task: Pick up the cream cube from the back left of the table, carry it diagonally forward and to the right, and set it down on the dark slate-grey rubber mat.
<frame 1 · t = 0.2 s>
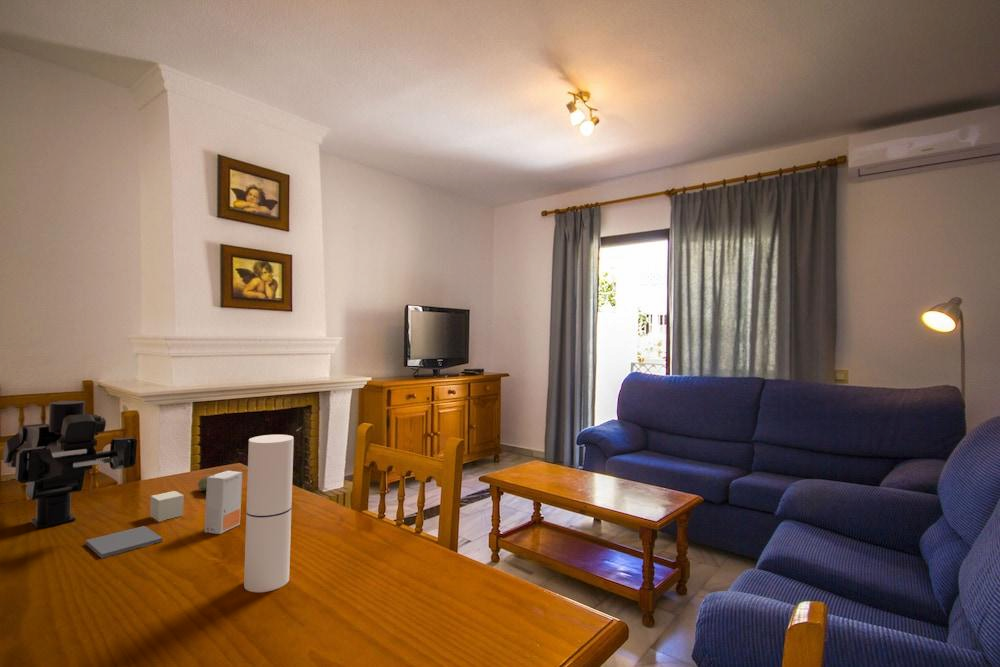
hand: (93, 466, 95), 17 cm above the table, tool horizontal, fingers open, 9 cm apart
pear: (213, 492, 133), on the table
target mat: (124, 542, 100), on the table
skincare box: (223, 529, 108), on the table
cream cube: (166, 517, 115), on the table
cylindrical container: (267, 582, 86), on the table
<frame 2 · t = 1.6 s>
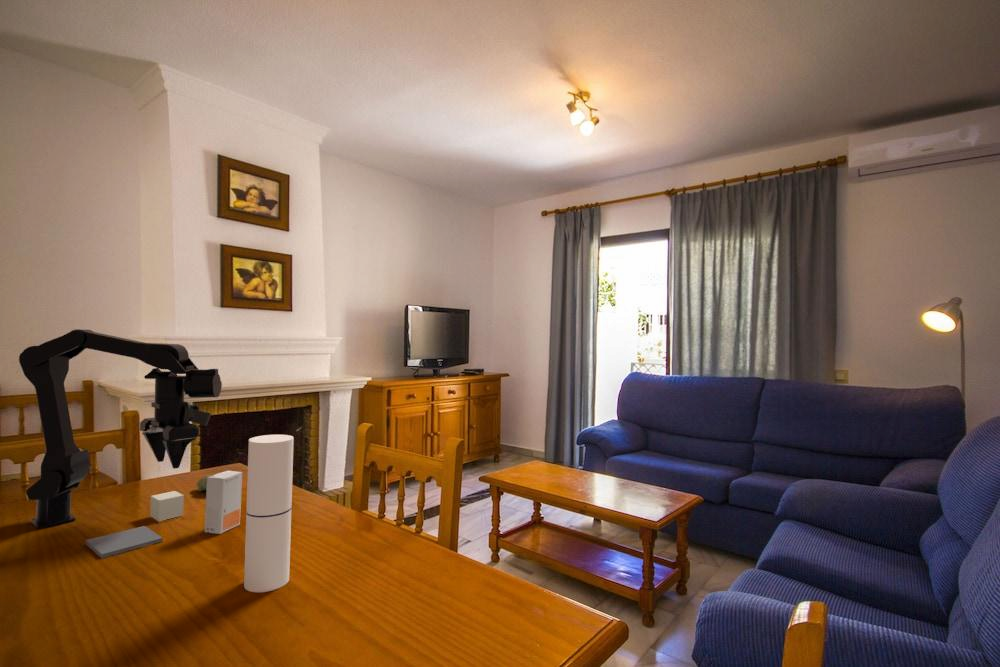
hand: (168, 464, 115), 12 cm above the table, tool pointing down, fingers open, 9 cm apart
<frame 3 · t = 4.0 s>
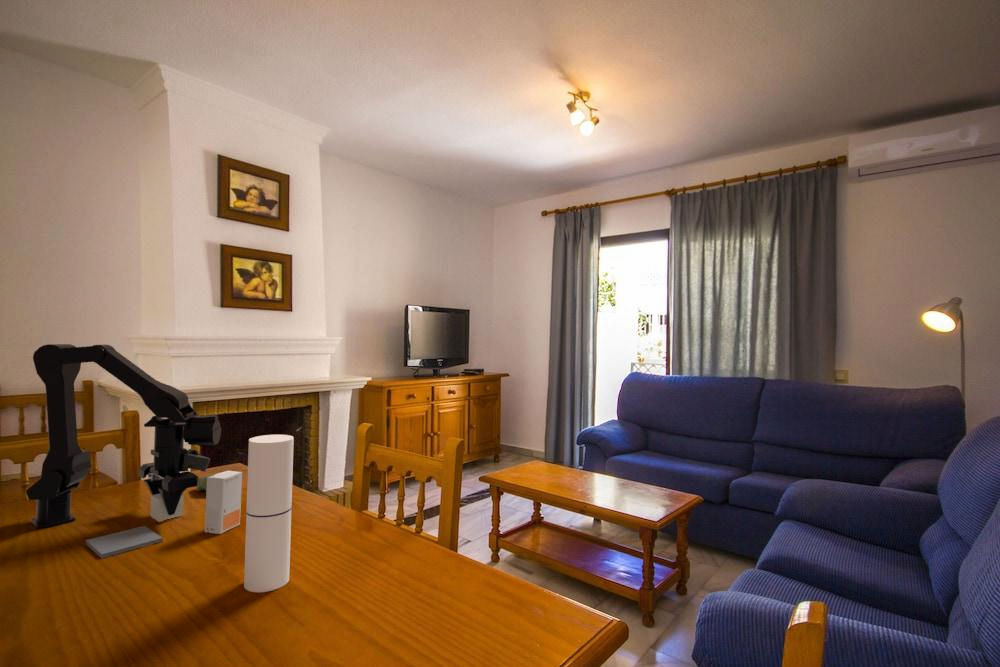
hand: (166, 512, 115), 1 cm above the table, tool pointing down, fingers closed on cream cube, 5 cm apart
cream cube: (166, 516, 115), on the table, touching gripper
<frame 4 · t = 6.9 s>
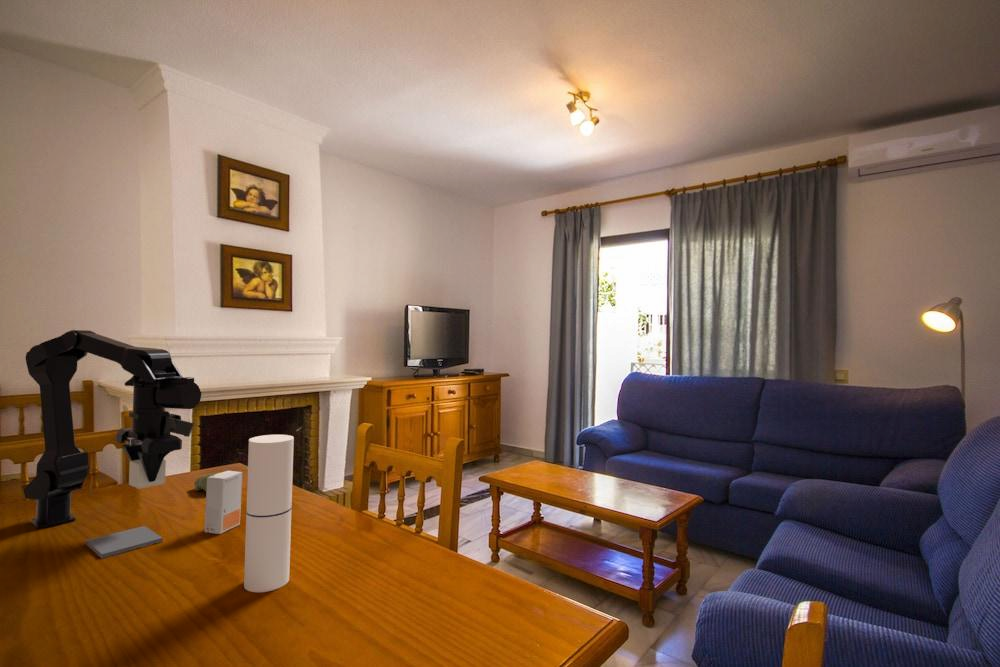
hand: (146, 479, 106), 11 cm above the table, tool pointing down, fingers closed on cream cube, 5 cm apart
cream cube: (147, 483, 107), point 10 cm above the table, touching gripper
when the fingers open (3 cm above the table, at t = 10.1 s): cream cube drops 1 cm, resting on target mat.
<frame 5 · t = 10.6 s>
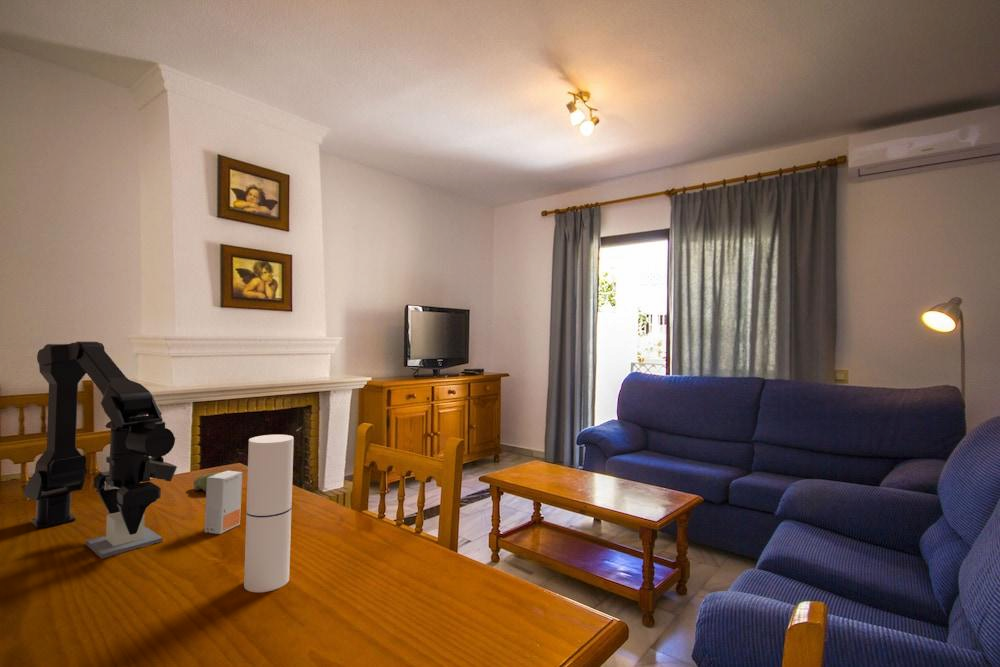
hand: (124, 528, 100), 3 cm above the table, tool pointing down, fingers open, 9 cm apart
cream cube: (124, 538, 100), point 1 cm above the table, touching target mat
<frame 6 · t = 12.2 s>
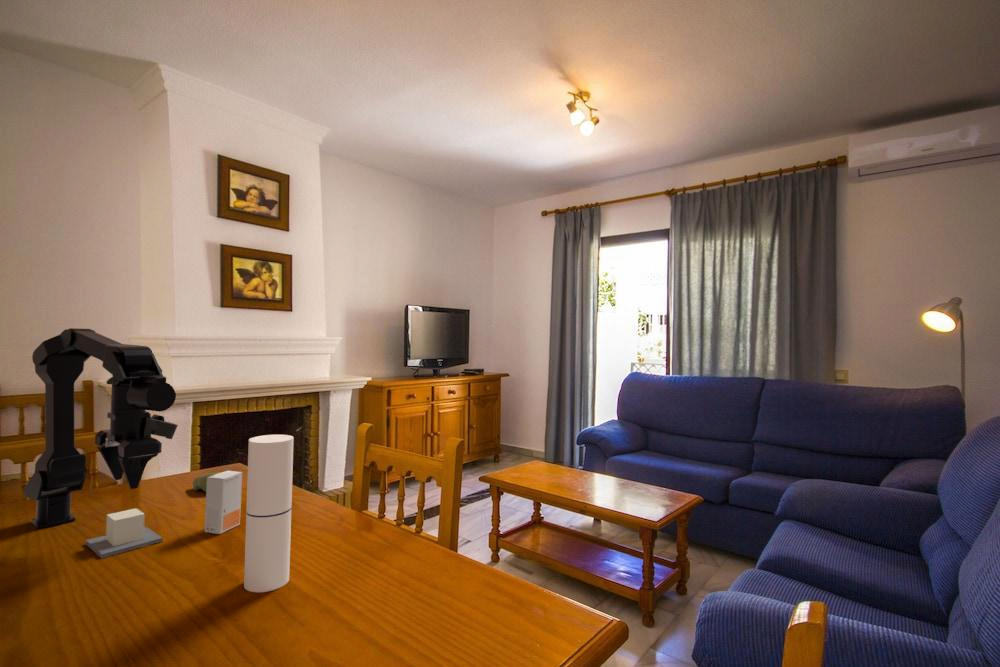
hand: (125, 484, 100), 12 cm above the table, tool pointing down, fingers open, 9 cm apart
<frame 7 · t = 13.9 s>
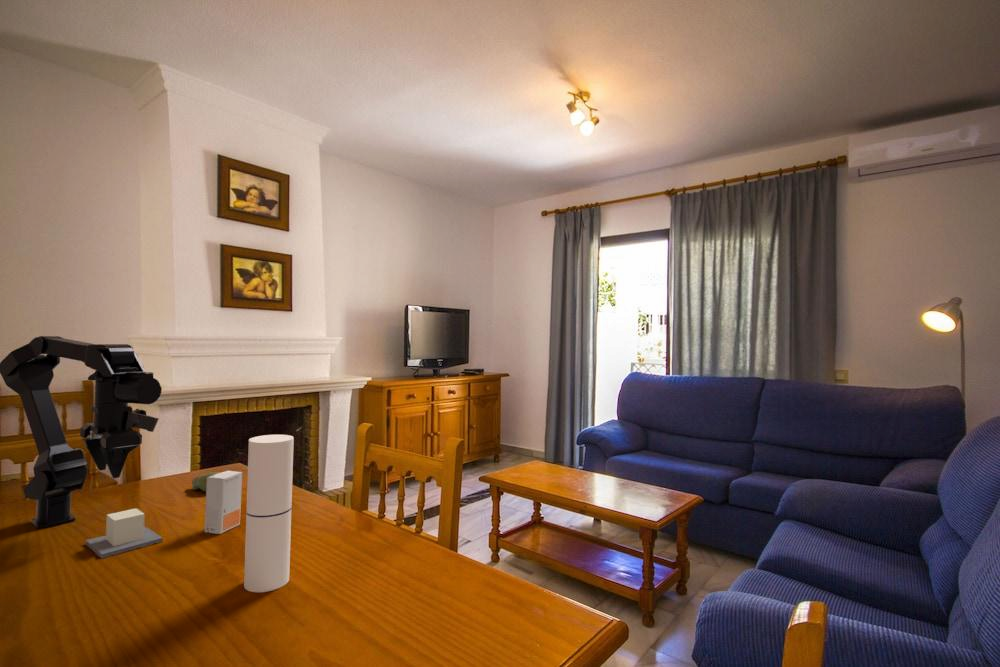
hand: (108, 473, 106), 12 cm above the table, tool pointing down, fingers open, 9 cm apart
at the end: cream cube inside the target area on the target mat (0.0 cm from its centre), point 0.8 cm above the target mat's base; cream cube tilted 0°; the gripper is holding nothing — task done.
